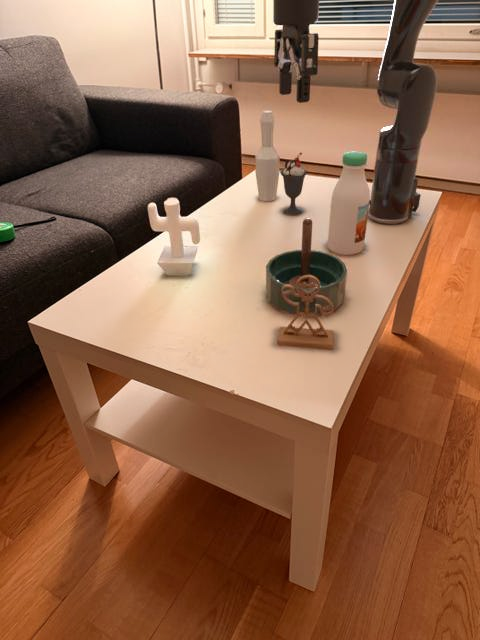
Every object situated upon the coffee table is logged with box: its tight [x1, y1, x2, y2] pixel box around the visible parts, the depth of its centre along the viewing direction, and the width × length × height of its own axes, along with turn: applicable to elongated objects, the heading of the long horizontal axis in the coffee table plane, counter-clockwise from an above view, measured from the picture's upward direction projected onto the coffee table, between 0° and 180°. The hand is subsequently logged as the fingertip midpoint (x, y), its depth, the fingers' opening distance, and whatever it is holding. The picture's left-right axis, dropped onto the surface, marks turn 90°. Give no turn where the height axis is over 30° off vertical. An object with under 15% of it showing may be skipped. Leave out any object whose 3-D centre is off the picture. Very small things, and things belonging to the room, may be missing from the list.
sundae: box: [279, 152, 309, 216], centre depth 114 cm, size 7×7×15 cm
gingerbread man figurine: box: [276, 275, 335, 350], centre depth 72 cm, size 9×4×12 cm, turn 80°
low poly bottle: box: [254, 110, 281, 202], centre depth 120 cm, size 6×6×22 cm
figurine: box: [147, 197, 201, 276], centre depth 91 cm, size 7×9×15 cm
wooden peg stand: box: [289, 217, 318, 288], centre depth 81 cm, size 6×6×15 cm
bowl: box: [265, 249, 348, 316], centre depth 84 cm, size 14×14×6 cm
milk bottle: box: [327, 150, 371, 256], centre depth 95 cm, size 8×8×20 cm
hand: (293, 98), depth 85 cm, fingers open, 8 cm apart
